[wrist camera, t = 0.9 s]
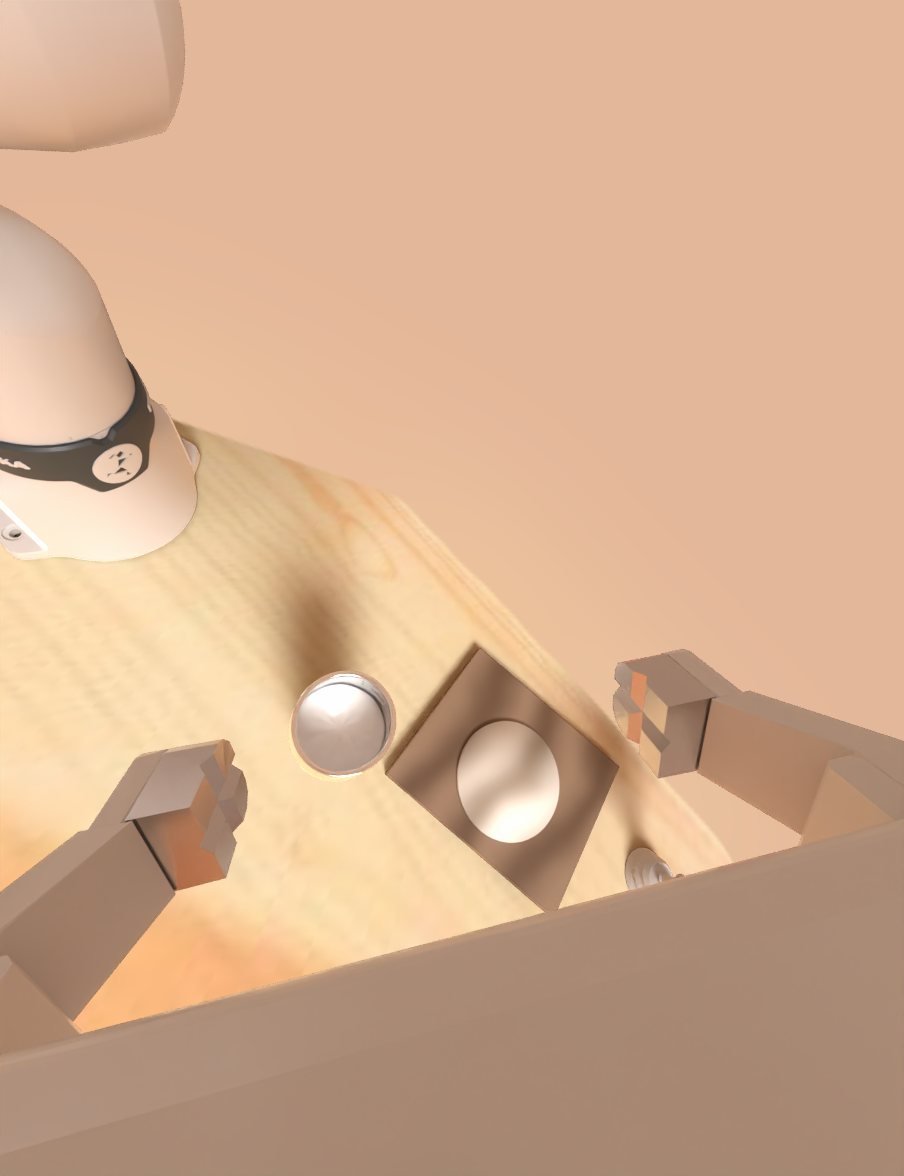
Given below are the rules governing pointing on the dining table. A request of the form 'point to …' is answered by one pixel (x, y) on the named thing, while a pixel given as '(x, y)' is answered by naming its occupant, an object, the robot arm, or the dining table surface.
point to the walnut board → (508, 778)
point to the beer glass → (341, 726)
